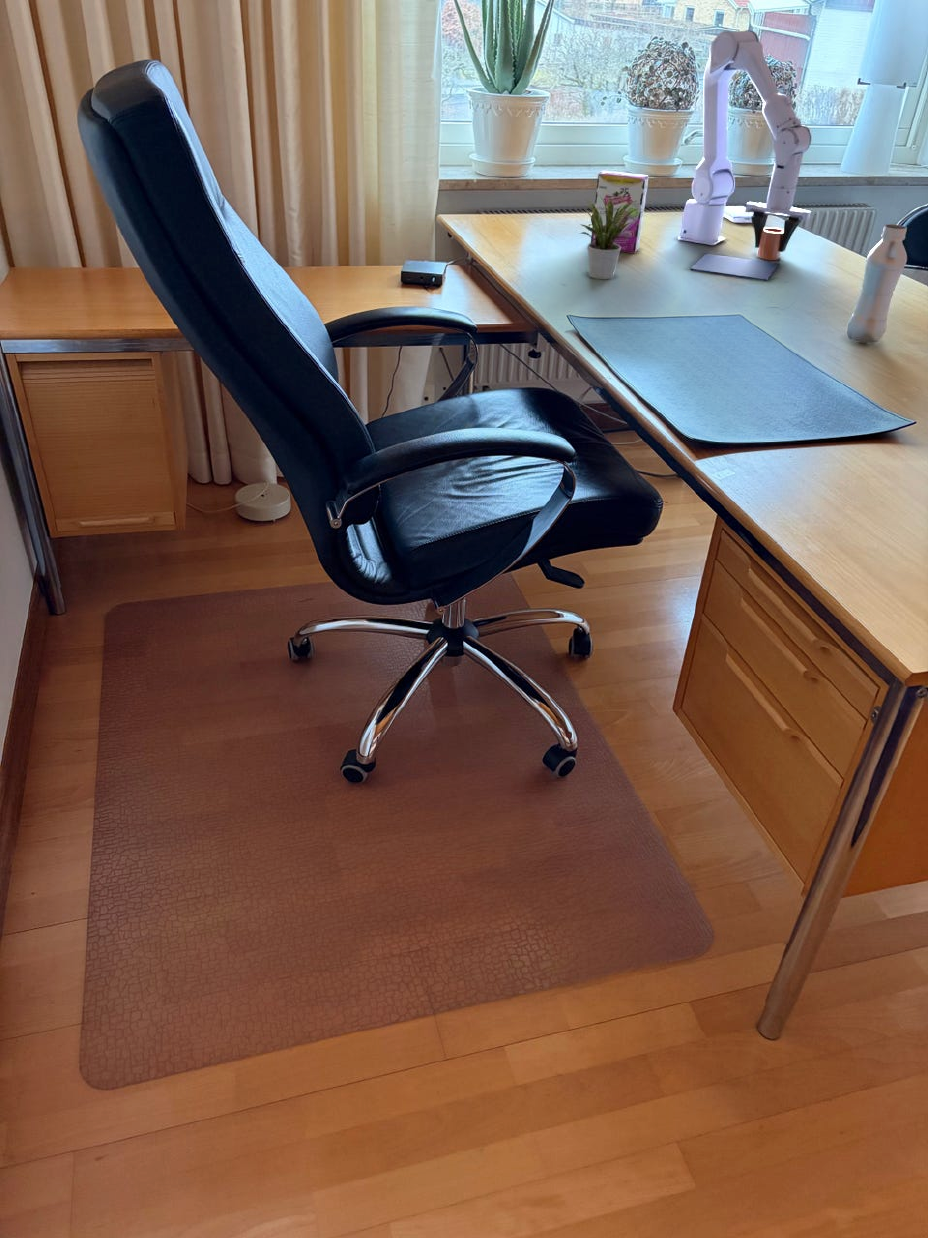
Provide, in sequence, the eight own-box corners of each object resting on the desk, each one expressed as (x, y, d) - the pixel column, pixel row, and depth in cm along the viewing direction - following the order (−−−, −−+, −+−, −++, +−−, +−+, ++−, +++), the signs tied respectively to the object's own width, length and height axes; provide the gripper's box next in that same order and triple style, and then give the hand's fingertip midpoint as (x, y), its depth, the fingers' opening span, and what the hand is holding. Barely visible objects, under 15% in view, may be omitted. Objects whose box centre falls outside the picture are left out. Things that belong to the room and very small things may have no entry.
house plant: (647, 272, 203) (658, 193, 193) (629, 288, 193) (640, 205, 183) (586, 263, 208) (594, 185, 198) (565, 278, 197) (573, 197, 188)
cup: (753, 257, 216) (758, 230, 212) (760, 252, 220) (766, 226, 216) (775, 261, 214) (781, 233, 210) (782, 256, 217) (788, 229, 214)
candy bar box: (589, 248, 219) (596, 173, 209) (593, 243, 222) (601, 169, 213) (635, 253, 216) (645, 178, 206) (639, 248, 220) (649, 174, 210)
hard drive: (716, 206, 253) (733, 216, 244) (744, 205, 255) (762, 216, 245) (715, 212, 254) (732, 222, 244) (743, 211, 255) (761, 222, 246)
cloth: (690, 269, 206) (690, 268, 206) (706, 254, 217) (706, 253, 217) (766, 280, 200) (766, 279, 200) (778, 264, 211) (779, 263, 211)
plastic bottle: (837, 335, 171) (868, 221, 160) (872, 335, 172) (905, 222, 160) (852, 347, 166) (885, 230, 154) (888, 347, 167) (923, 231, 155)
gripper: (746, 184, 208) (734, 246, 216) (809, 193, 202) (794, 257, 210) (756, 179, 213) (744, 241, 221) (818, 188, 207) (804, 251, 215)
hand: (769, 248), depth 216 cm, fingers closed on cup, 5 cm apart
